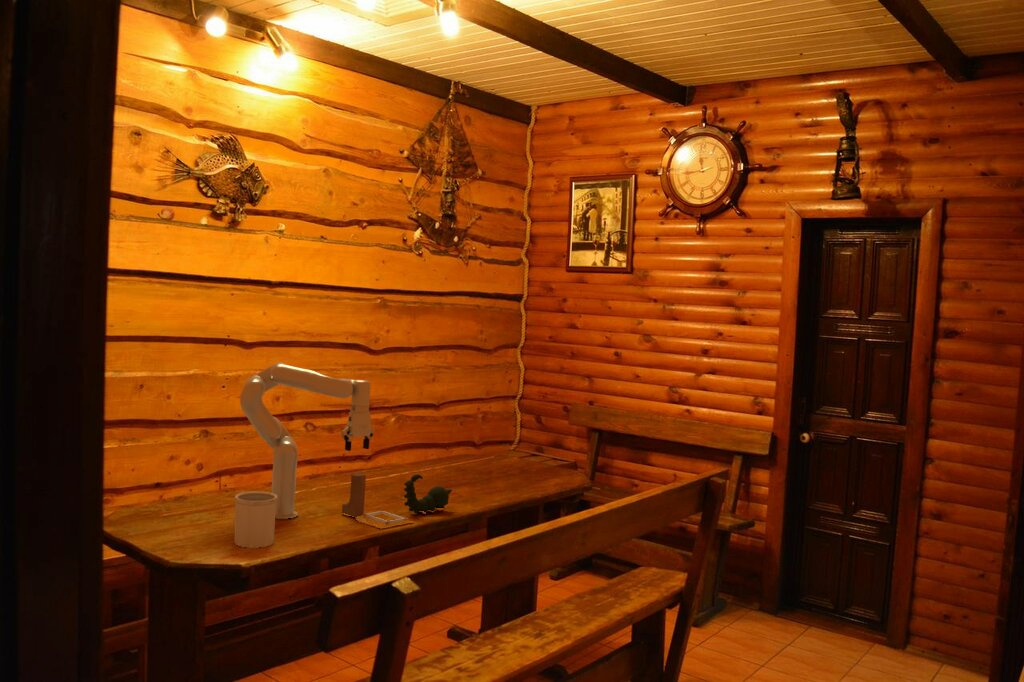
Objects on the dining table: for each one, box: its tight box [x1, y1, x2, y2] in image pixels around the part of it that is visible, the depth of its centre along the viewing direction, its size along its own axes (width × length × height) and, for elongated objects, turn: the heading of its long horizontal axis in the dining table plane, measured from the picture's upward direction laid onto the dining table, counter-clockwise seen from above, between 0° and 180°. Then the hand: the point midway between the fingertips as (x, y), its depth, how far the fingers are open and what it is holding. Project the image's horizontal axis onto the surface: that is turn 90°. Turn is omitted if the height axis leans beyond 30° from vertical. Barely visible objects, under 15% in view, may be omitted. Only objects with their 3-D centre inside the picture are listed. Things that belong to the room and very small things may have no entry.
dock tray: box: [356, 510, 407, 526], centre depth 353 cm, size 18×16×2 cm
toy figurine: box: [403, 474, 453, 514], centre depth 373 cm, size 9×19×25 cm
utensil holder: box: [234, 490, 277, 549], centre depth 311 cm, size 15×15×18 cm
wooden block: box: [341, 473, 367, 517], centre depth 359 cm, size 9×4×18 cm, turn 52°
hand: (356, 449), depth 359 cm, fingers open, 9 cm apart
